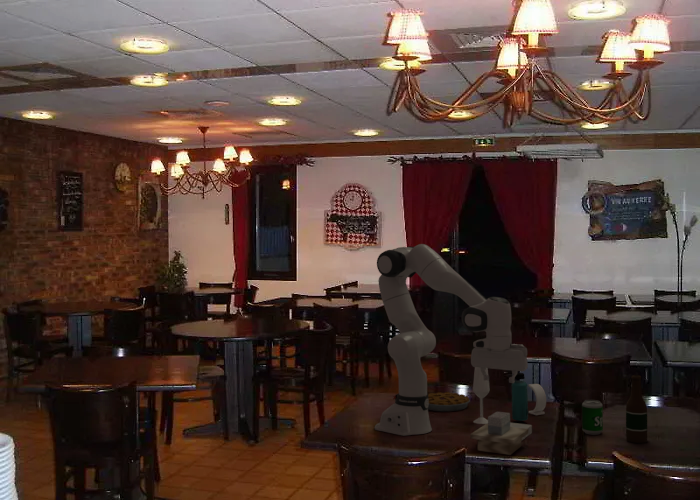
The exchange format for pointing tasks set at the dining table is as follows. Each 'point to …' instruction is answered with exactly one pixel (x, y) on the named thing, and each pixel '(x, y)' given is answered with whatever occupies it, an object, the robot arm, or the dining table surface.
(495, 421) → the block
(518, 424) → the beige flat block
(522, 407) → the beverage bottle
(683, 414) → the dining table surface
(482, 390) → the champagne flute
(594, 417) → the soda can
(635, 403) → the beer bottle
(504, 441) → the serving riser
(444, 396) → the pie
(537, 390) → the headphone stand
